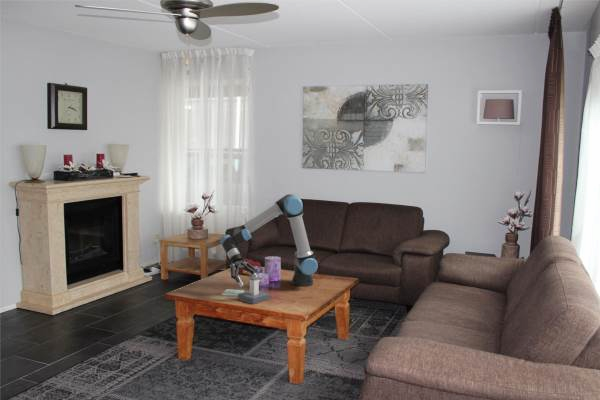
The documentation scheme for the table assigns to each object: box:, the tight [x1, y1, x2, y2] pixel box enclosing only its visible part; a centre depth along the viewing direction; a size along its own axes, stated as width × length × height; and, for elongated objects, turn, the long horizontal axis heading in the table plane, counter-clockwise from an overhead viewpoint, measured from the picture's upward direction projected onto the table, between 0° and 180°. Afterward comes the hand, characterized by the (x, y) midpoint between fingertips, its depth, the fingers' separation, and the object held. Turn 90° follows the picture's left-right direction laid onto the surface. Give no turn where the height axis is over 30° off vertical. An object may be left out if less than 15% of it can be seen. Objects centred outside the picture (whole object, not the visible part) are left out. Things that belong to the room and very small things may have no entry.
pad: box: [221, 288, 245, 298], centre depth 341 cm, size 12×12×1 cm
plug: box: [248, 276, 260, 296], centre depth 328 cm, size 5×5×14 cm
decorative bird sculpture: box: [238, 257, 262, 276], centre depth 395 cm, size 28×9×15 cm
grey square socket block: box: [237, 290, 271, 305], centre depth 329 cm, size 14×14×4 cm
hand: (250, 284), depth 329 cm, fingers open, 13 cm apart
